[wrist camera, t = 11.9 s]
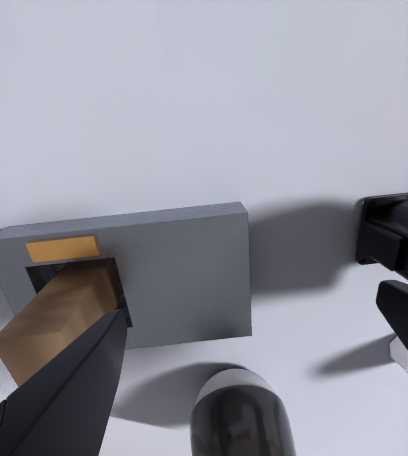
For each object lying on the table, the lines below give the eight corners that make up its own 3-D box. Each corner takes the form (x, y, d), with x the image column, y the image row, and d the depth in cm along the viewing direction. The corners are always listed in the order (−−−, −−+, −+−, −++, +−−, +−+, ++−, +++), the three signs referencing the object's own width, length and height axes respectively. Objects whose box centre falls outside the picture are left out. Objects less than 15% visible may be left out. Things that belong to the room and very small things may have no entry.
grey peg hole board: (240, 201, 20) (248, 213, 17) (245, 313, 25) (252, 338, 22) (7, 226, 20) (-26, 243, 17) (54, 333, 25) (34, 362, 22)
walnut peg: (111, 256, 22) (60, 332, 13) (122, 292, 23) (82, 380, 15) (68, 262, 22) (-10, 341, 13) (82, 297, 23) (19, 389, 15)
